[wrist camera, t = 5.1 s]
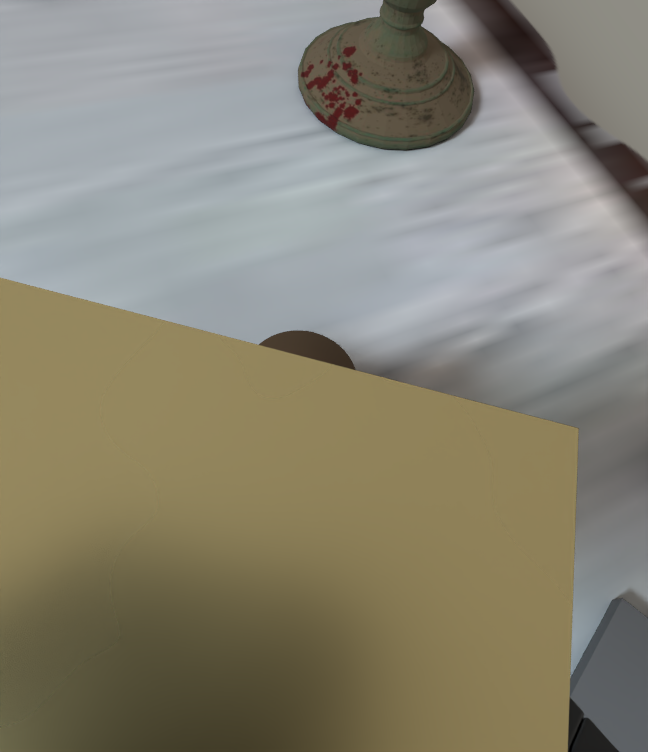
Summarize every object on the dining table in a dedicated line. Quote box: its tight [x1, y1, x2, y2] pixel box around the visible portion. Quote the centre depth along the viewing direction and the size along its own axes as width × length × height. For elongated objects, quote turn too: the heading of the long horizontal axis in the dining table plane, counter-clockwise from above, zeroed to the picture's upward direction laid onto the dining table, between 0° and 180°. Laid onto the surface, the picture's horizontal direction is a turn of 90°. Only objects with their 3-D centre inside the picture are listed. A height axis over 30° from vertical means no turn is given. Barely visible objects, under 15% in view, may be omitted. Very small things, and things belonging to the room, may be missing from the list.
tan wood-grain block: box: [0, 278, 579, 752], centre depth 8 cm, size 3×5×10 cm, turn 76°
